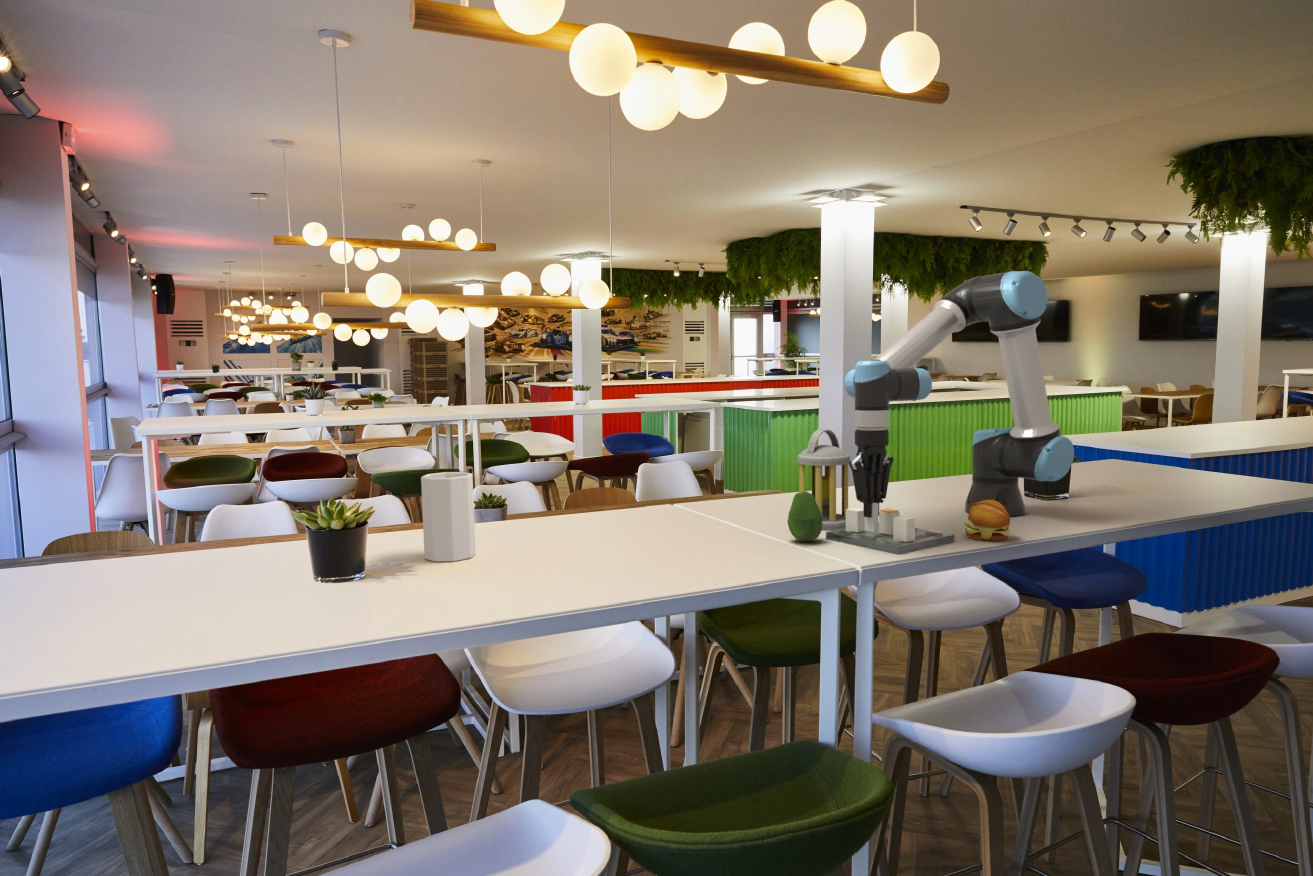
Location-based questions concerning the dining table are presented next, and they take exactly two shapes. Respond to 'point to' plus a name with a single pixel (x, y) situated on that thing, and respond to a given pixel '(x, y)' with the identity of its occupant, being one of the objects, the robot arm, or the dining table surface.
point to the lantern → (826, 478)
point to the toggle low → (855, 520)
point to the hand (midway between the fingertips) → (871, 530)
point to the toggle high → (904, 528)
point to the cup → (448, 516)
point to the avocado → (805, 517)
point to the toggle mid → (887, 520)
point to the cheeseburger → (987, 521)
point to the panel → (890, 540)
